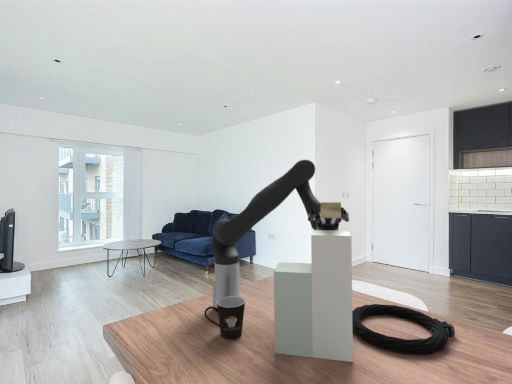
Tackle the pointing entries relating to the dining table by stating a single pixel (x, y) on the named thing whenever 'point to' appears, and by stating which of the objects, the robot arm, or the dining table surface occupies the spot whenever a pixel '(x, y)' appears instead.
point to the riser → (316, 300)
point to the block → (330, 209)
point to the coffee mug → (229, 316)
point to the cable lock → (398, 344)
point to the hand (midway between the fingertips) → (328, 204)
